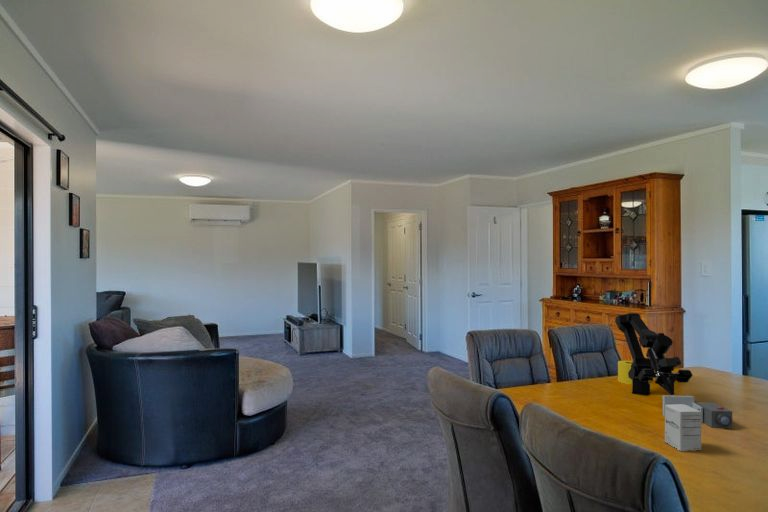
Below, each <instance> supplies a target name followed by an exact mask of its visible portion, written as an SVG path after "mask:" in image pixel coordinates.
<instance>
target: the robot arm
mask: <svg viewBox="0 0 768 512" xmlns="http://www.w3.org/2000/svg"><path fill="white" fill-rule="evenodd" d="M614 320H615V324H616V326H617V328H618V330H619V331H621V332H622V333H623V335H624V338H625V341H626V343H627V346H628V350H629V352H630V355H631V359H632V361H633V362H632V364H631V369H630V371H629V372H628V376H629V378H630V379H632V385H631V387H632V389H631V390H632V391H631V394H636V395H642V396H649V394H650V393H651V383H650V382H649V381H652V382H653V380H654V379H655V380H654V384H656V385H658V386H660V387H661V388H662V389H663V390H665V391H666V393H668V395H670V396H675V383H676V382H678V383H682V384H686V383H688V382H689V380H690V379H691V378H692V377H693V373H692V371H691V370H690V369H679V370H678V371H677V372H674V371H675V368H678V366H681V365H682V361H681V359H680V357H679V356H673V357H666V355H665V354H667V353H668V351H669V350H670V349H671V346H672V345H673V340H672V338H670V337H669V336H668V335H665V333H664V332H658V333H657V332H655V331H653V330H651V329H649V327H648V326H647V325H646V323H645V321H644V320H643V319H642V318H641V314H640V313H638V312H628V313H626V314H618V315H617V316H616V317H615V318H614ZM638 336H639V337H638ZM642 348H645V349H647V351H646V353H645V355H644V353H643V350H642Z"/></svg>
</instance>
